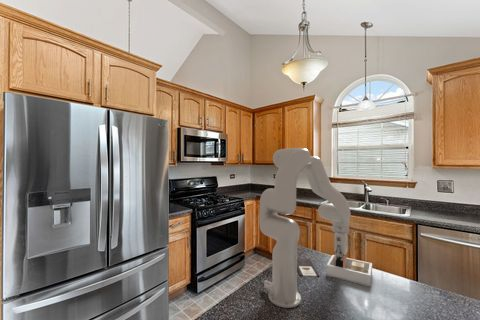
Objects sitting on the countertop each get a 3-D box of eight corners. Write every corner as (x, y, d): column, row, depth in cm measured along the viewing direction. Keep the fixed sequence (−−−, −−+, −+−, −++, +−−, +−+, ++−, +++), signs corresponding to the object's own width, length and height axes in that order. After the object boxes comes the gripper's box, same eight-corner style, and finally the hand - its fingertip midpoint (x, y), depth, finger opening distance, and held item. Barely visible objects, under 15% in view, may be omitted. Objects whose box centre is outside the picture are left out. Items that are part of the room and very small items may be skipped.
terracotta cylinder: (334, 271, 110) (334, 256, 110) (336, 267, 114) (336, 253, 114) (345, 273, 107) (345, 259, 107) (347, 269, 111) (347, 255, 111)
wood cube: (351, 275, 106) (351, 264, 106) (352, 271, 110) (352, 261, 110) (363, 278, 103) (363, 267, 103) (364, 274, 107) (364, 263, 107)
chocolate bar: (309, 258, 124) (319, 275, 106) (309, 260, 124) (319, 277, 106) (292, 258, 125) (300, 275, 107) (292, 260, 125) (300, 277, 107)
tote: (326, 275, 107) (326, 264, 107) (332, 264, 119) (332, 254, 119) (370, 287, 97) (370, 275, 97) (372, 273, 109) (372, 263, 109)
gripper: (346, 234, 101) (346, 274, 101) (351, 225, 116) (351, 260, 116) (328, 231, 105) (328, 270, 105) (335, 223, 120) (335, 257, 120)
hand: (340, 264), depth 110 cm, fingers open, 6 cm apart
